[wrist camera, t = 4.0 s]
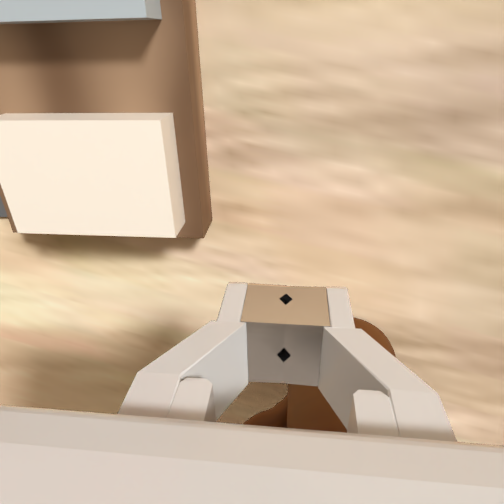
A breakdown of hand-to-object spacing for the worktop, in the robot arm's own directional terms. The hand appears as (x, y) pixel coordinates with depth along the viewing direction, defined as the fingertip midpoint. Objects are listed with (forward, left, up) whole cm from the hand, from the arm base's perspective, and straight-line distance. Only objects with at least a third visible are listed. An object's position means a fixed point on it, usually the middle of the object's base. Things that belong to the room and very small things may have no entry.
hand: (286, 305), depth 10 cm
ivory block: (+11, 0, -12) cm, 16 cm away
